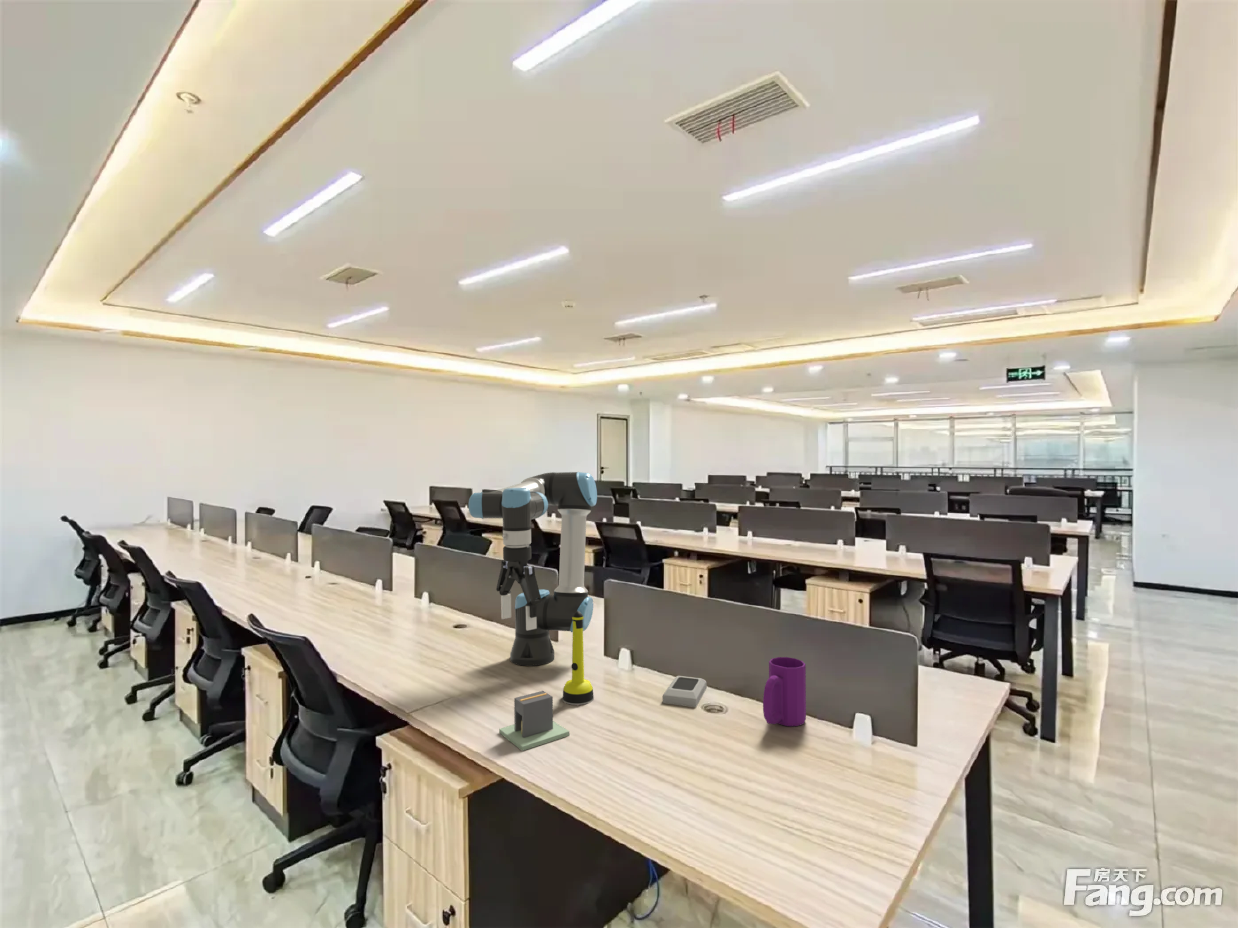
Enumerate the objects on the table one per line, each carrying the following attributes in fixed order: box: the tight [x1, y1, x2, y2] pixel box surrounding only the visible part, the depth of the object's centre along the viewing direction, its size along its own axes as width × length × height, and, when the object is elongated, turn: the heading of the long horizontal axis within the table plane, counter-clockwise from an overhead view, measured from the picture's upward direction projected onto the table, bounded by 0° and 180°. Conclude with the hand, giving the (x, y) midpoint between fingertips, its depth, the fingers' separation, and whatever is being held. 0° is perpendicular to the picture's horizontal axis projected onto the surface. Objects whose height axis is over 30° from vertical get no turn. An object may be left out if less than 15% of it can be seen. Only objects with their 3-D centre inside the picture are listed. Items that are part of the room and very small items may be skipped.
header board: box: [499, 720, 570, 752], centre depth 147 cm, size 13×12×4 cm
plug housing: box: [513, 690, 554, 738], centre depth 147 cm, size 8×5×8 cm, turn 126°
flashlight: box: [561, 611, 595, 706], centre depth 169 cm, size 25×9×9 cm
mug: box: [762, 656, 807, 727], centre depth 152 cm, size 9×16×15 cm, turn 136°
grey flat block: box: [662, 675, 708, 708], centre depth 171 cm, size 10×4×15 cm
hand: (518, 623), depth 160 cm, fingers open, 13 cm apart
